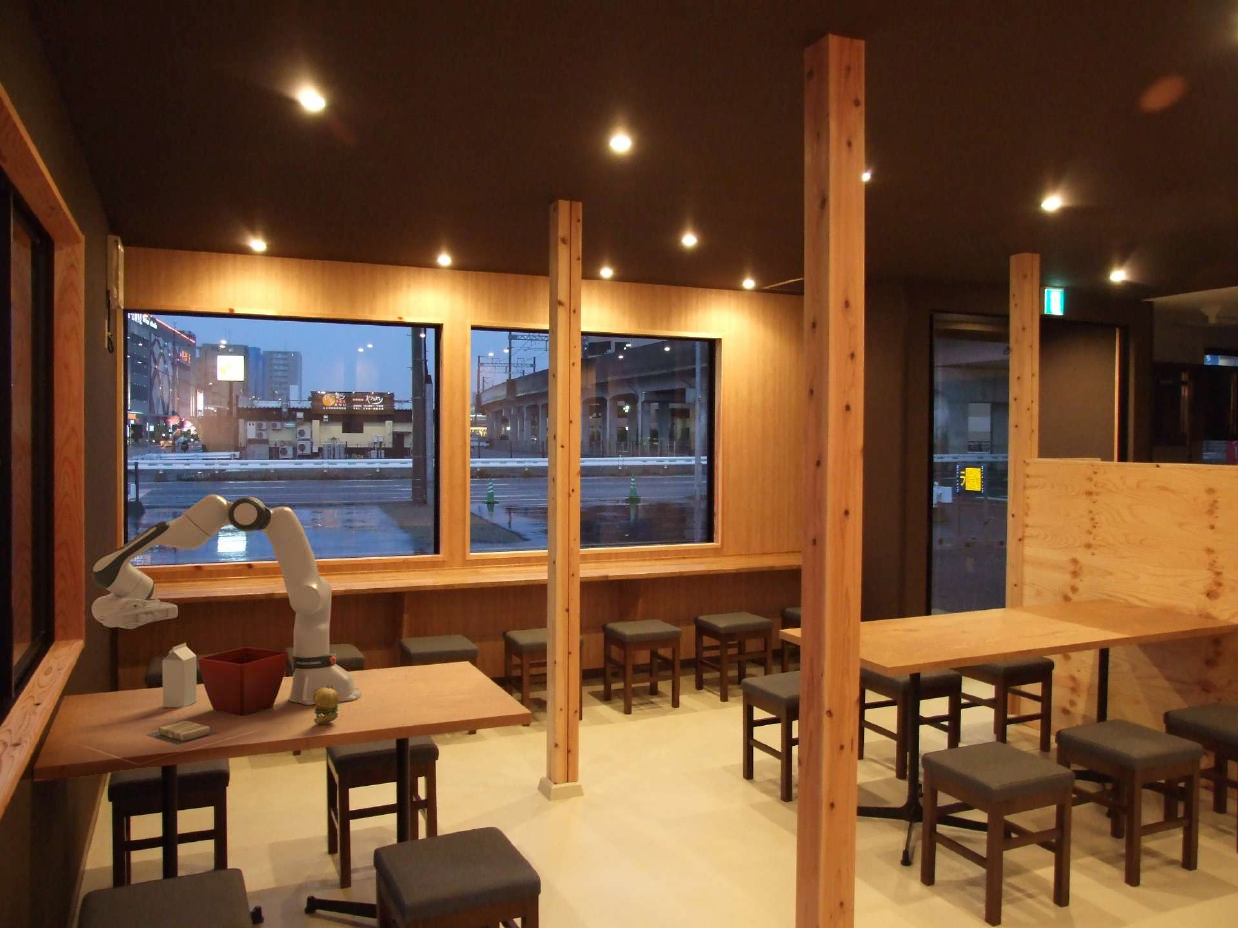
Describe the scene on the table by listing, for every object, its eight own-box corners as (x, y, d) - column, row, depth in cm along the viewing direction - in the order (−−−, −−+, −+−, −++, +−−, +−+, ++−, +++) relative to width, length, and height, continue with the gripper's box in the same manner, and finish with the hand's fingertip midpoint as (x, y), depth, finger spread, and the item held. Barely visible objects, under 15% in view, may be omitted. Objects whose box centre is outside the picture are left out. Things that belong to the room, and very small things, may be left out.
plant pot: (290, 704, 289) (290, 651, 289) (242, 720, 272) (242, 664, 272) (246, 697, 297) (245, 646, 297) (196, 713, 280) (196, 658, 280)
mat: (145, 736, 257) (145, 734, 257) (185, 725, 267) (185, 724, 267) (177, 745, 248) (177, 744, 248) (218, 734, 258) (218, 732, 258)
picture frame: (158, 727, 257) (183, 734, 250) (185, 720, 264) (210, 726, 257) (158, 734, 257) (183, 741, 250) (185, 727, 264) (210, 734, 257)
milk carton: (196, 702, 292) (196, 642, 292) (184, 708, 285) (183, 647, 285) (175, 701, 293) (175, 642, 293) (162, 707, 286) (162, 647, 286)
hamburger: (330, 719, 273) (330, 679, 273) (344, 723, 268) (344, 682, 268) (307, 725, 267) (307, 684, 267) (321, 729, 262) (321, 688, 262)
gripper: (93, 607, 263) (118, 612, 256) (162, 598, 281) (187, 602, 273) (93, 629, 264) (119, 634, 256) (162, 618, 281) (188, 623, 273)
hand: (155, 617), depth 265 cm, fingers closed
